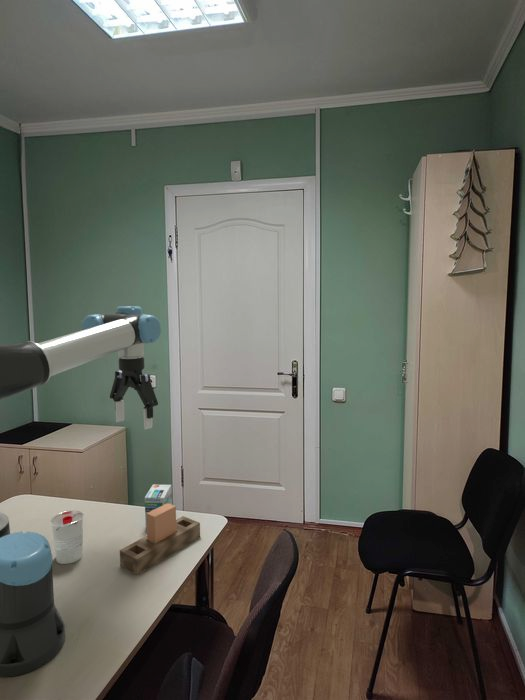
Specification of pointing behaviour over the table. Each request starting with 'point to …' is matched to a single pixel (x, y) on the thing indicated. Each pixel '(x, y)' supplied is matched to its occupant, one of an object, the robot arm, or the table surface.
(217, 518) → the table surface
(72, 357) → the robot arm
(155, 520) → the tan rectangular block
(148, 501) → the light bulb box
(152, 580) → the table surface
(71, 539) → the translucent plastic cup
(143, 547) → the brown long block
